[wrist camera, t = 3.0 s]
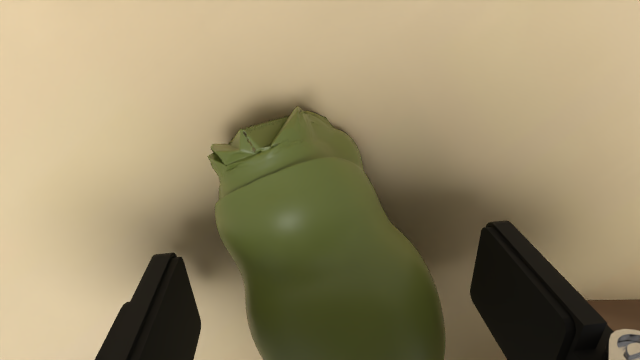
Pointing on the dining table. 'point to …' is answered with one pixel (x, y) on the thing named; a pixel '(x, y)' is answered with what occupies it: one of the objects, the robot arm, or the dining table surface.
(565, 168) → the dining table surface
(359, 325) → the olive green rounded lump
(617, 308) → the walnut block
